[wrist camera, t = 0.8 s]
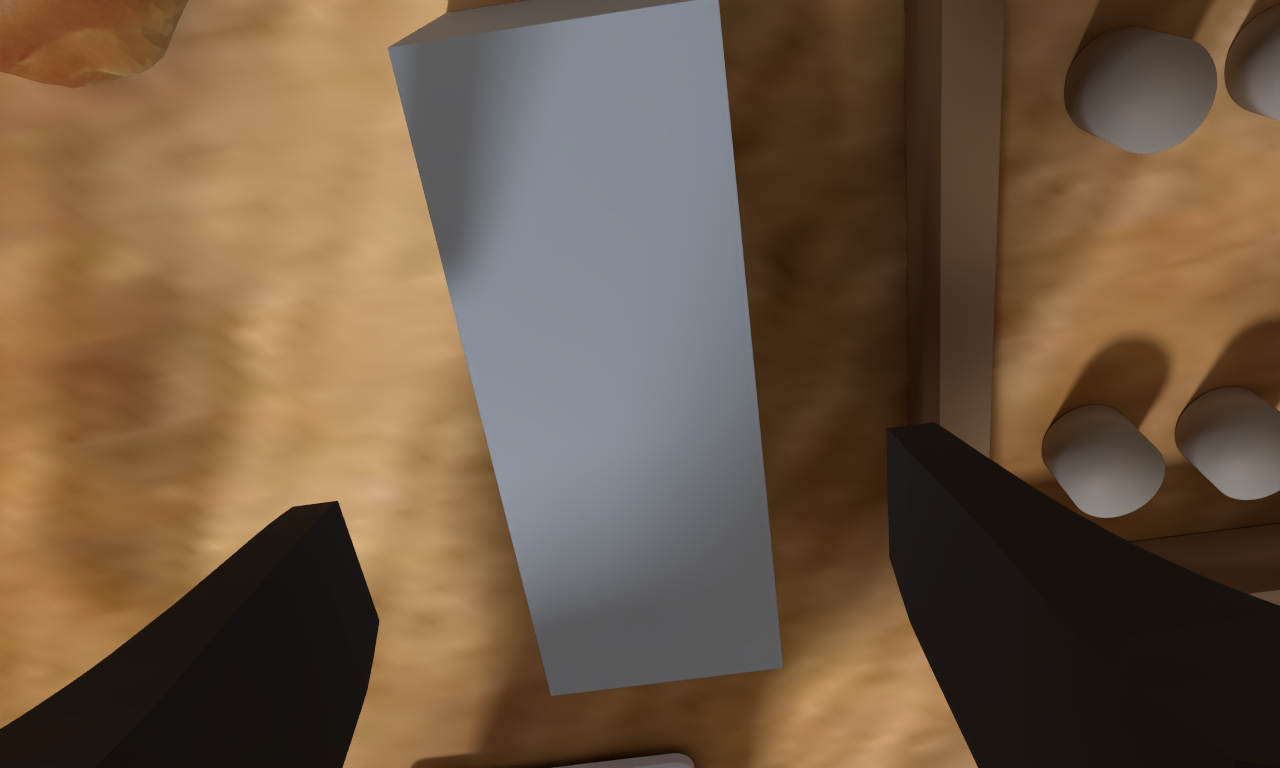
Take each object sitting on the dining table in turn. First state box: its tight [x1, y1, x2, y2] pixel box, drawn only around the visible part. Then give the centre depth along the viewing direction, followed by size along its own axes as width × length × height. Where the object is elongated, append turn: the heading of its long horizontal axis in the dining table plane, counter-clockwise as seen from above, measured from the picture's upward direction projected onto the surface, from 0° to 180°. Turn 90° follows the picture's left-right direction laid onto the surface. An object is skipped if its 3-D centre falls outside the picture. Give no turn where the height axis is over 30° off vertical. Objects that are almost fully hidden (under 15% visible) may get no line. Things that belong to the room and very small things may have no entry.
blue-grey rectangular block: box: [388, 0, 783, 696], centre depth 17 cm, size 12×4×5 cm, turn 8°
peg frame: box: [904, 0, 1280, 606], centre depth 18 cm, size 16×11×2 cm
